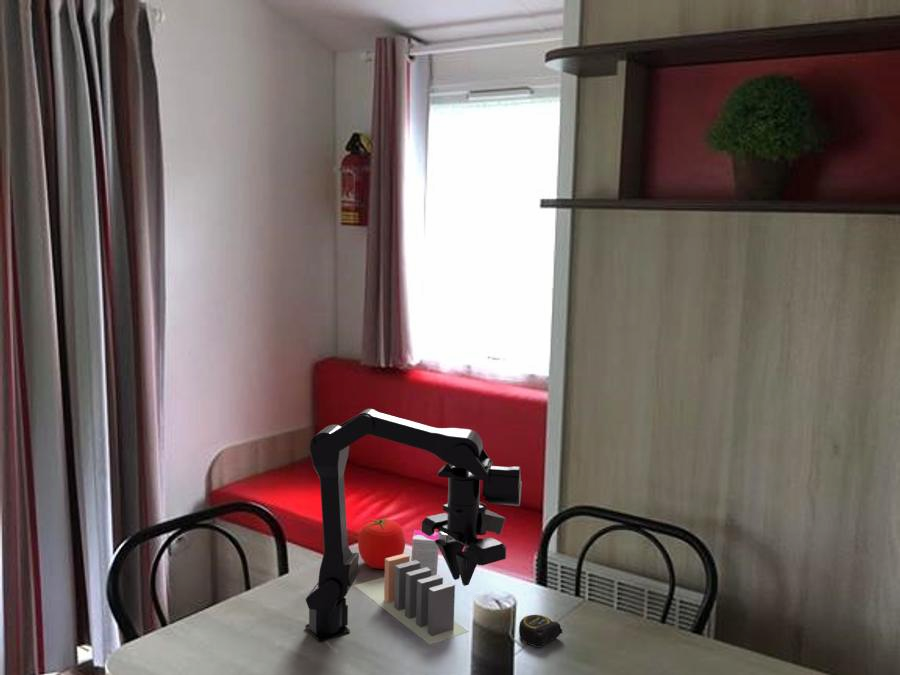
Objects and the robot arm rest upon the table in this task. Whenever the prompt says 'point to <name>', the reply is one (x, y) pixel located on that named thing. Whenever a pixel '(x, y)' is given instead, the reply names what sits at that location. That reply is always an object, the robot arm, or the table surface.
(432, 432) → the robot arm
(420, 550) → the supplement box
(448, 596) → the domino
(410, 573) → the domino
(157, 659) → the table surface
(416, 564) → the domino
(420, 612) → the domino
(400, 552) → the tomato
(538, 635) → the tape measure
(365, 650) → the table surface
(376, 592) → the runner
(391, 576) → the domino
